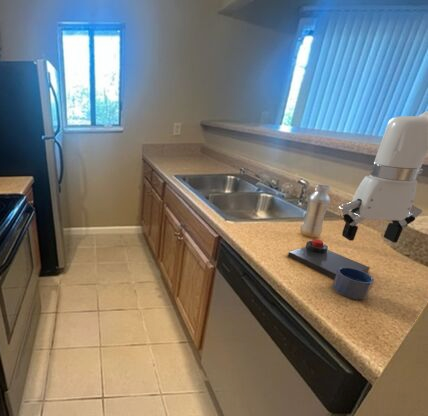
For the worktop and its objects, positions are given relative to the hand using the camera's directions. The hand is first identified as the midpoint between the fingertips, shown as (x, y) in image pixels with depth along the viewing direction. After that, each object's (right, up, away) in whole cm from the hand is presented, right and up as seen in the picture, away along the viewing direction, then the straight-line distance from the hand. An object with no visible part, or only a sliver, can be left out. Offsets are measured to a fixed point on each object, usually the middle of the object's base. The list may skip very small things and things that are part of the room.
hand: (368, 239), depth 69 cm
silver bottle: (+13, -3, +37) cm, 40 cm away
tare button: (+5, -5, +23) cm, 24 cm away
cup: (0, -15, +6) cm, 16 cm away
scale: (+4, -10, +18) cm, 22 cm away
